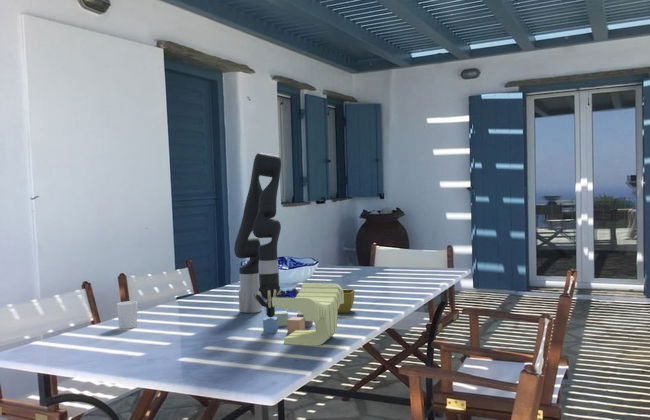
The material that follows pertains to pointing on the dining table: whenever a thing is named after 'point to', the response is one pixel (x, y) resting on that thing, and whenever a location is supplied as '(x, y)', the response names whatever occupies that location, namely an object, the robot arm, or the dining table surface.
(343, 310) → the flower pot
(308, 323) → the charcoal block
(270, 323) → the blue block
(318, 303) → the slatted curved stool
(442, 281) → the dining table surface
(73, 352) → the dining table surface
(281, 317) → the sage block
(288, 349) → the dining table surface
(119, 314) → the white cup
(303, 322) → the terracotta block
